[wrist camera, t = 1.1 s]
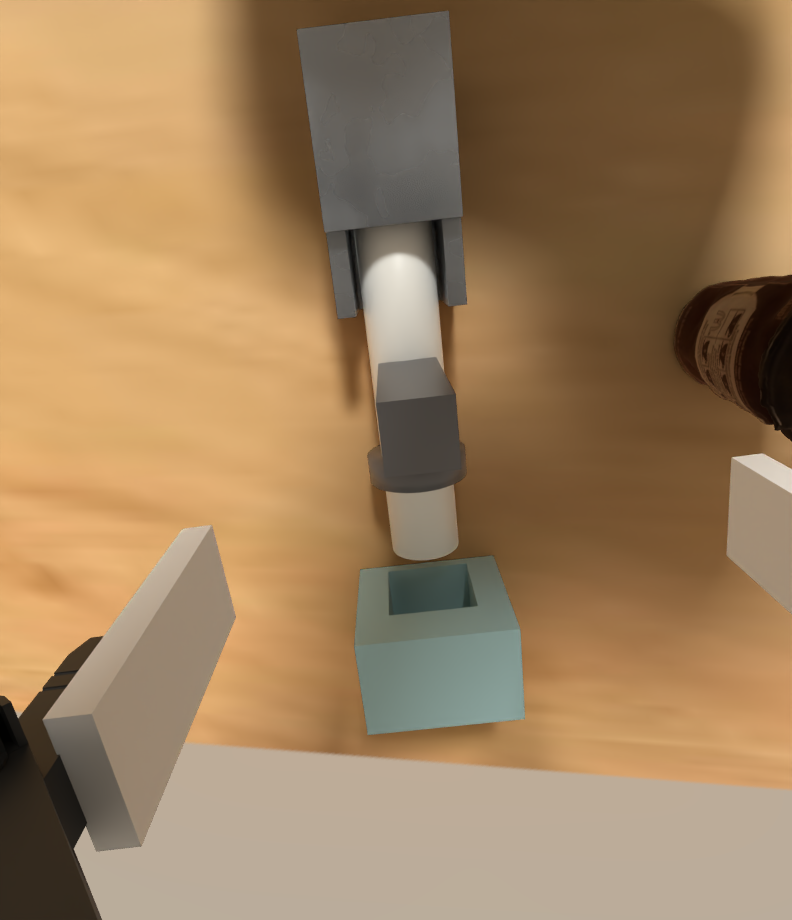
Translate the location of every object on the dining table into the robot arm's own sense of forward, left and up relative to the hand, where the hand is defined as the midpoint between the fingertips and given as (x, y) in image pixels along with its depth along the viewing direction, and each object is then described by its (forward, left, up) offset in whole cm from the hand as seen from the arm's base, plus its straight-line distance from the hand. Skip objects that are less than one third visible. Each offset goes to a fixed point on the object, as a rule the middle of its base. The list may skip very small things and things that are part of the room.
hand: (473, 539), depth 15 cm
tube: (-3, -1, -22) cm, 23 cm away
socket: (+16, -1, -22) cm, 27 cm away
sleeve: (-10, -1, -22) cm, 25 cm away
